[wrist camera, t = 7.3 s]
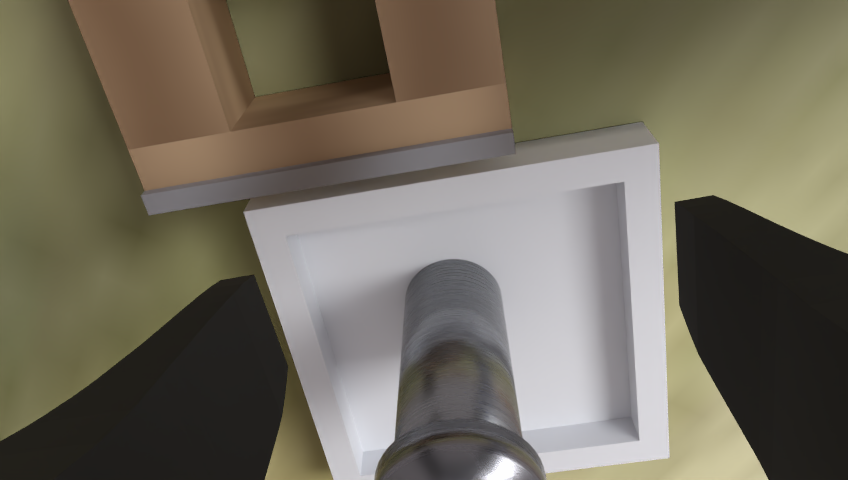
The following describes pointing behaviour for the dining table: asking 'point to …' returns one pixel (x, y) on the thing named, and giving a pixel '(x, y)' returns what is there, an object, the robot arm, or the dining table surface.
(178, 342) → the robot arm
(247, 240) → the dining table surface
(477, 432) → the pin
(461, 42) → the hitch block
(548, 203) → the tray
